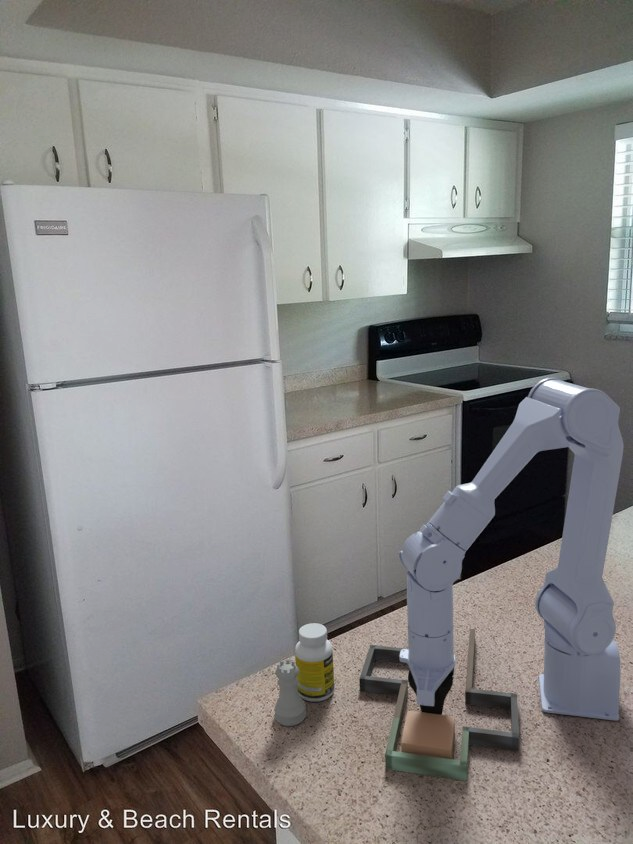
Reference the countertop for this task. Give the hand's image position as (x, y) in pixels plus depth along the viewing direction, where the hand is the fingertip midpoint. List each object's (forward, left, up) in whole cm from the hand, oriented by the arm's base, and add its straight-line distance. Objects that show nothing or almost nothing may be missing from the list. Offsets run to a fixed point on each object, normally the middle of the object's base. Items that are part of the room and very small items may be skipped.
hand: (432, 718), depth 85 cm
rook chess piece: (+19, +2, -1) cm, 19 cm away
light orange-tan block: (0, +4, -1) cm, 4 cm away
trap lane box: (0, -7, -1) cm, 7 cm away
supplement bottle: (+17, -4, -1) cm, 18 cm away
